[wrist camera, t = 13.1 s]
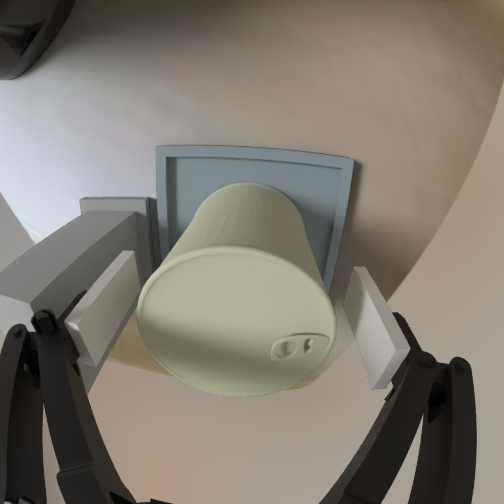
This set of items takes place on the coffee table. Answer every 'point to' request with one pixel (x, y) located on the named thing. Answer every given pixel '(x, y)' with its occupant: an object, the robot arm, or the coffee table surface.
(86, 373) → the box
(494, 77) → the coffee table surface
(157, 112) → the coffee table surface
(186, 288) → the can
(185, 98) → the coffee table surface
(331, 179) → the tray
